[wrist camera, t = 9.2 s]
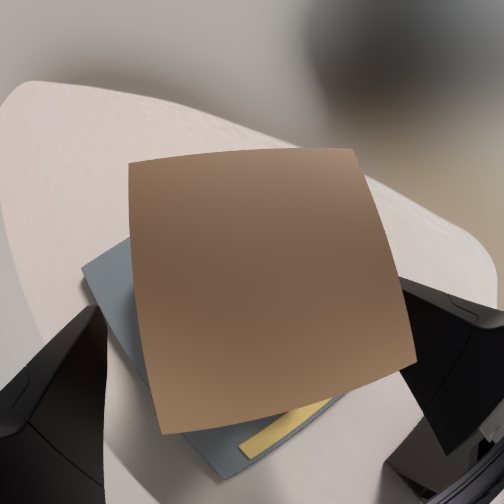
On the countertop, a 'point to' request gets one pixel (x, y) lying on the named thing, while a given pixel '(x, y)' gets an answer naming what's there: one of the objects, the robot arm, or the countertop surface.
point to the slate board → (128, 334)
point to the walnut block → (261, 283)
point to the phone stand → (429, 461)
